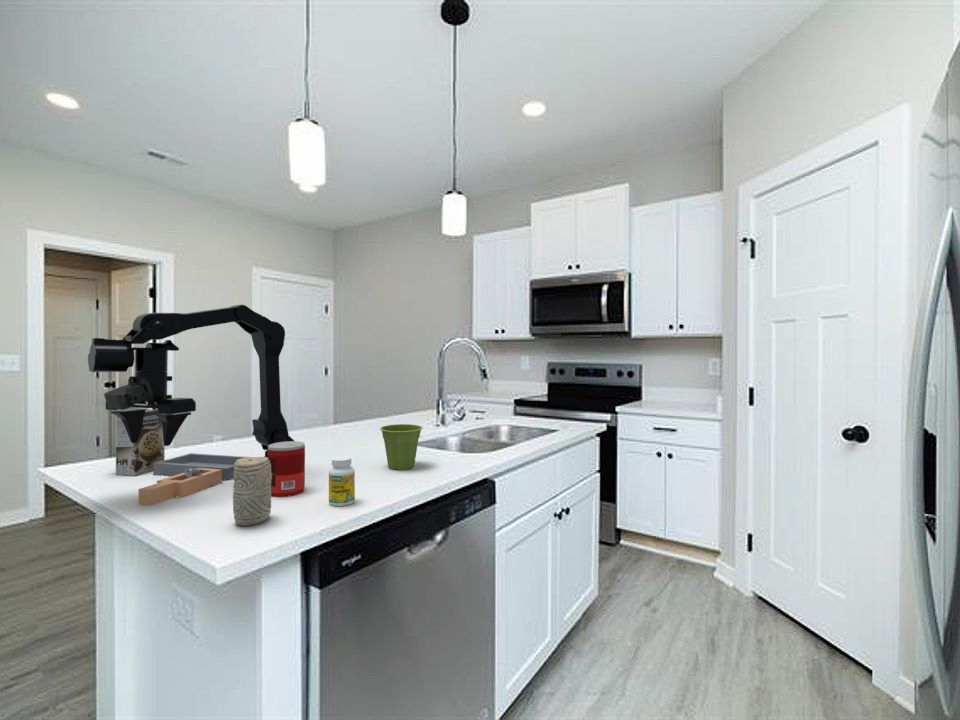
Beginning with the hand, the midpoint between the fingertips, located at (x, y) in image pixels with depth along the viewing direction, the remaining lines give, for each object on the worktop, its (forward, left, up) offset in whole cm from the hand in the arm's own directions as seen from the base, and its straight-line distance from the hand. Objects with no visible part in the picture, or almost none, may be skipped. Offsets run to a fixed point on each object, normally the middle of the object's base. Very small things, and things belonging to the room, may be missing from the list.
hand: (150, 444), depth 101 cm
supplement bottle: (-40, -8, -12) cm, 43 cm away
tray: (+7, -23, -12) cm, 27 cm away
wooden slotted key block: (-1, -6, -12) cm, 14 cm away
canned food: (-24, -12, -12) cm, 30 cm away
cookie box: (+24, -19, -12) cm, 33 cm away
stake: (-1, -9, -12) cm, 15 cm away
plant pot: (-41, -40, -12) cm, 59 cm away
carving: (-29, +6, -12) cm, 32 cm away
